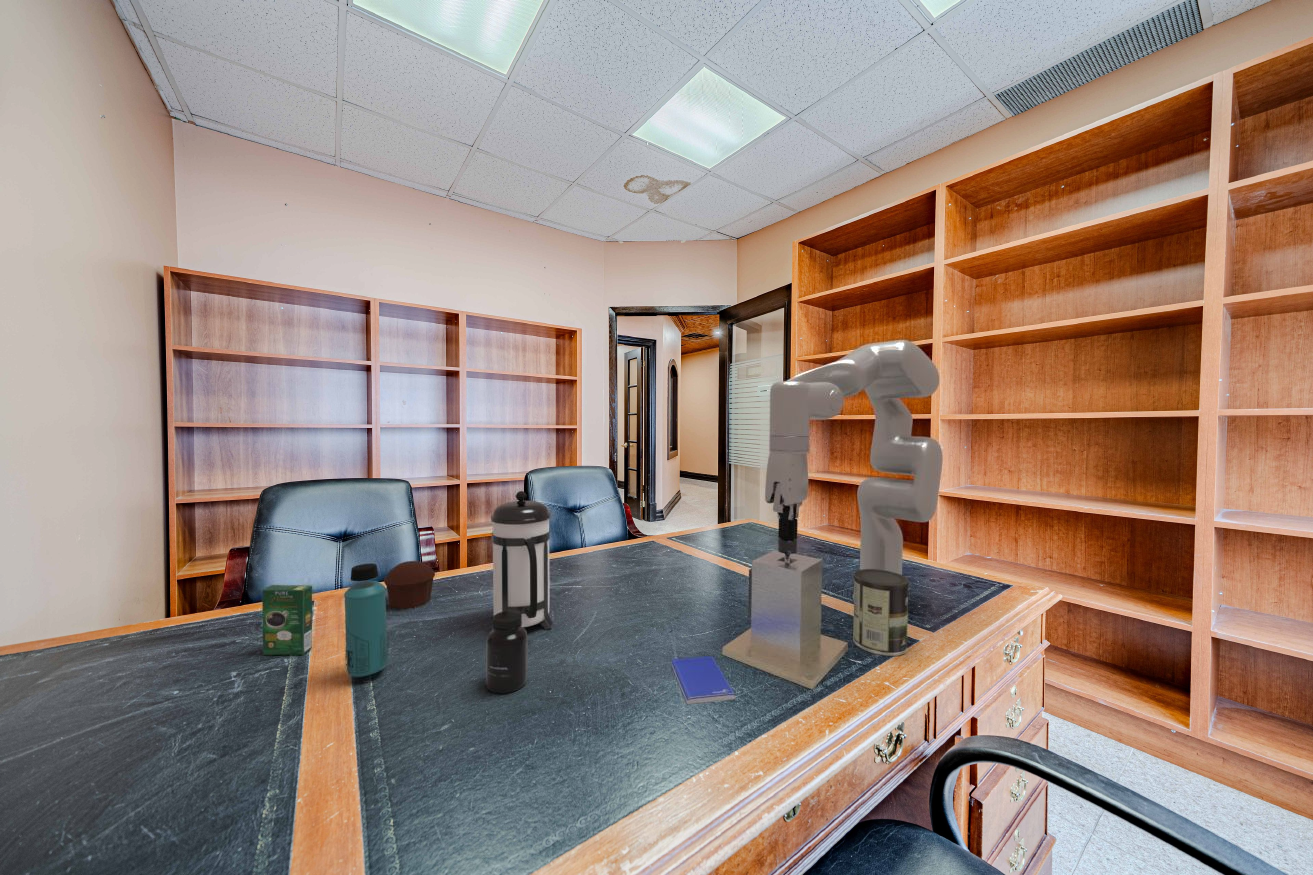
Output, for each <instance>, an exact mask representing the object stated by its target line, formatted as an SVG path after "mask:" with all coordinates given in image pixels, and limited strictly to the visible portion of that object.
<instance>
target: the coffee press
mask: <svg viewBox="0 0 1313 875" xmlns="http://www.w3.org/2000/svg"><path fill="white" fill-rule="evenodd" d="M515 498H516V500H515V501H509V502H505V503H502V504H500V505H498V506H497V507H495V508H494V510H493V512H492V514H491V515H490V521H491V523H492V532H491V543H492V568H493V569H492V575H493V576H492V578H493V579H492V580H493V581H492V586H493V589H492V590H493V596H492V597H493V615H492V616H491V619H492V621H493V617H494V615H495V614H497V613H500V612H503V611H517V612H520V613H521V615H522V626H521V627H523V628H527V627H531V626H534V625H537V624H538V625H539V624H540V626H542V628H544V629H545V631H546V630H550V629H552V627H553V626H554V623H553V621H552V619H551V618H550V615H549V613H550V539H551V529H550V519H551V517H552V513H551V511H549V508H548V507H547V505H546V504H544V503H542V502H539V501H535V500H526V498H527V494H526V492H525V491H522V490H520V491H518V492H517V493H516V494H515ZM544 620H545V621H544ZM546 622H547V623H546Z"/></svg>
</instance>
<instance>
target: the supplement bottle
mask: <svg viewBox="0 0 1313 875" xmlns="http://www.w3.org/2000/svg"><path fill="white" fill-rule="evenodd" d="M493 615H494V614H493ZM521 626H522V615H521V613H520V612H517V611H503V612H500V613H497V614H495V615H494V617H493V620H492V625H491V627H492V628H491V631H490V632H489V633H488V635H487V637H486V643H485V644H486V645H485V647H486V650H485V657H486V658H485V676H486V677H485V685H486V688H487V689H488V690H489V691H490V692H491V693H493V694H502V695H503V694H509V693H513V692H517V691H518V690H520V689H521V688H522V687H523V686H524V685H525V684H526V682H527V679H528V678H527V677H528V632H527V630H526V629H525V627H521Z"/></svg>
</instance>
